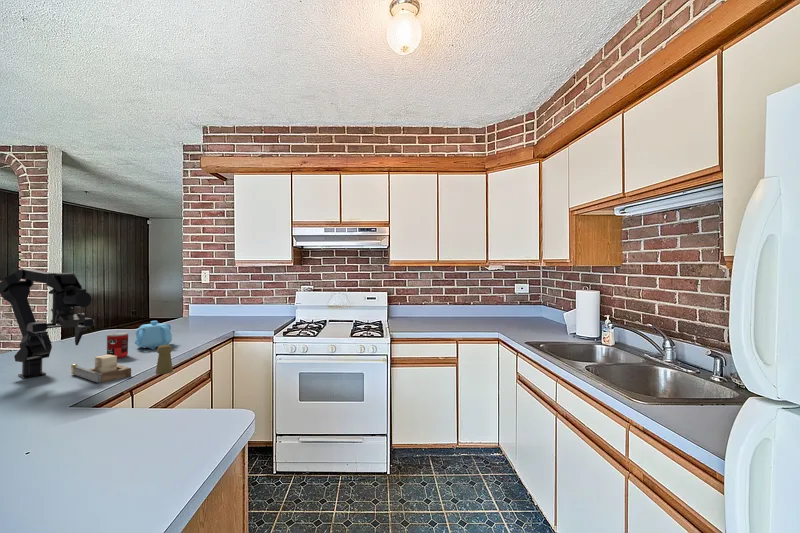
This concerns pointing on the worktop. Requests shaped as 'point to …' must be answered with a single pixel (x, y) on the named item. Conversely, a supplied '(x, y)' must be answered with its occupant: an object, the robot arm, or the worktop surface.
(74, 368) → the bar
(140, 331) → the decorative pot
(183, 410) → the worktop surface
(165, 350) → the cork
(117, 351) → the canned food
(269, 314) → the worktop surface
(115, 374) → the walnut cradle
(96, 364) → the birch block
